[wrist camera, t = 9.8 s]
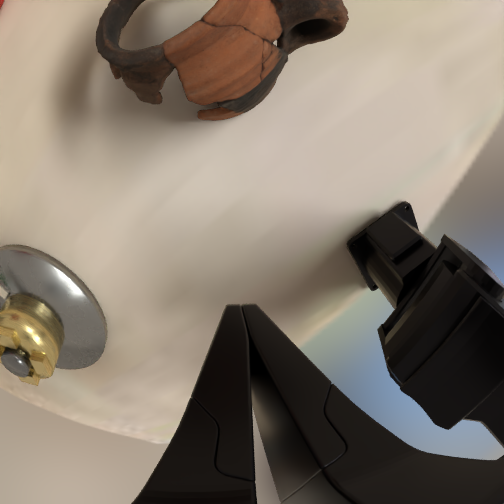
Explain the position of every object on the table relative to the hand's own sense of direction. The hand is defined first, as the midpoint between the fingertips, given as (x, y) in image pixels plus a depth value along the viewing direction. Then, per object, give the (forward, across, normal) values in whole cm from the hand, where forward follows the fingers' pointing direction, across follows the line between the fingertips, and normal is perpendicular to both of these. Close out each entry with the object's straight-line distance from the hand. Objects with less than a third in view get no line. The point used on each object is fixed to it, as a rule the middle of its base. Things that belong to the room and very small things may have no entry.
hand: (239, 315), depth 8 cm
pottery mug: (+12, 0, -9) cm, 15 cm away
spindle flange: (+12, +18, +12) cm, 24 cm away
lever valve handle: (+11, +20, +8) cm, 24 cm away
